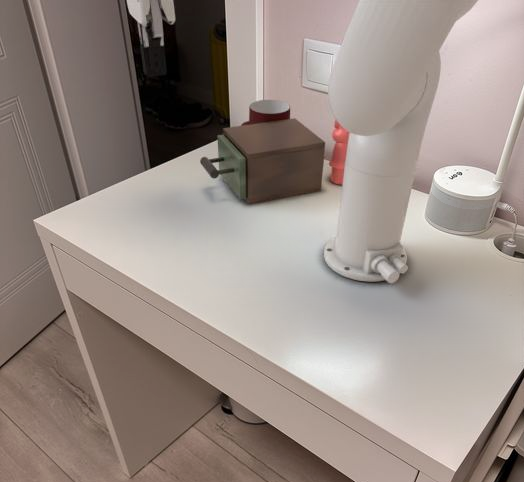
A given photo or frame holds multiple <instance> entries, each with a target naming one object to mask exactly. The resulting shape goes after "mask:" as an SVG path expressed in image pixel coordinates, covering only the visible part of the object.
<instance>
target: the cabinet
mask: <svg viewBox="0 0 524 482" xmlns="http://www.w3.org/2000/svg"><path fill="white" fill-rule="evenodd" d="M222 135H224V136H225V137H226V138H227V139H228V140H229V141H230V142H231V143H232V142H233V143H234V144H235V146H236V147H237V148H238V149H239V150H240V151H241V152H242V153H243V154H244V155H245V156H246V165H247V188H246V198H245V199H244V201H245V202H246V203H247V205H252V204H257V203H263V202H268V201H272V200H279V199H284V198H290V197H294V196H300V195H306V194H310V193H316V192H321V191H322V185H323V183H322V182H323V172H324V163H325V162H324V161H325V150H326V141H324V140H323V139H322V138H321V137H319V136H318V135H317V134H316V133H314V132H313V131H312V130H311V129H310V128H308V127H307V126H305V124H303V123H301V122H300V120H298V119H297V118H295V117H294V118H290V119H286V120H279V121H272V122H265V123H257V124H250V125H243V126H241V125H236V126H230V127H223V128H222Z"/></svg>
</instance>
